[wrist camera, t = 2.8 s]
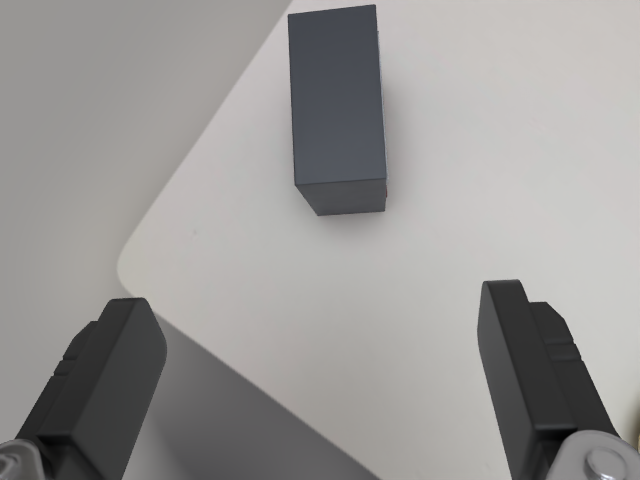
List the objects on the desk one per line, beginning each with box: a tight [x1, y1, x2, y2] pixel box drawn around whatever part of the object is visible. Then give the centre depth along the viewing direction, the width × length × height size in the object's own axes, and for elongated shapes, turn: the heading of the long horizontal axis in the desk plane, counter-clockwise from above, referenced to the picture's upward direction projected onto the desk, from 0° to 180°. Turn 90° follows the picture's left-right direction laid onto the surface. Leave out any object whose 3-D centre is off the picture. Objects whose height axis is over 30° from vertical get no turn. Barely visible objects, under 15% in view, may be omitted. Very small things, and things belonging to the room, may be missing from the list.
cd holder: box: [288, 4, 388, 216], centre depth 32 cm, size 10×5×10 cm, turn 3°
